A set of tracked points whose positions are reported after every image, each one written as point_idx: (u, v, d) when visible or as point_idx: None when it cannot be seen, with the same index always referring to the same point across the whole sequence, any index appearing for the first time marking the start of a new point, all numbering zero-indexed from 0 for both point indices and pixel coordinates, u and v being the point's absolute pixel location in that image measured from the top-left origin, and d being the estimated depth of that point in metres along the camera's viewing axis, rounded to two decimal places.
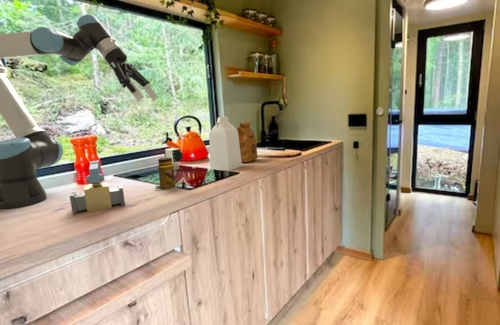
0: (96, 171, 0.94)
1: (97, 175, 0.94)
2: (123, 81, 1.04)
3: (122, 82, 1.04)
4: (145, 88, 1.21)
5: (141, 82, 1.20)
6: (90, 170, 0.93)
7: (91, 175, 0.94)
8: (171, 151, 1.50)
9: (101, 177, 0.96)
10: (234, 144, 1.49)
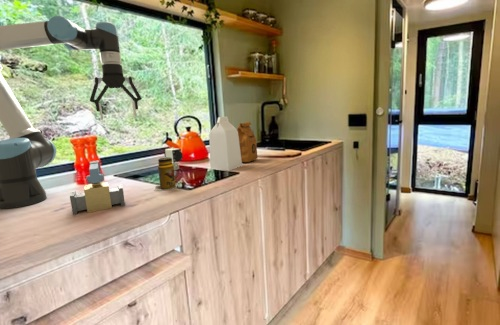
0: (96, 171, 0.94)
1: (97, 175, 0.94)
2: (90, 100, 1.17)
3: (90, 100, 1.17)
4: (132, 104, 1.25)
5: None
6: (90, 170, 0.93)
7: (91, 175, 0.94)
8: (171, 151, 1.50)
9: (101, 177, 0.96)
10: (234, 144, 1.49)
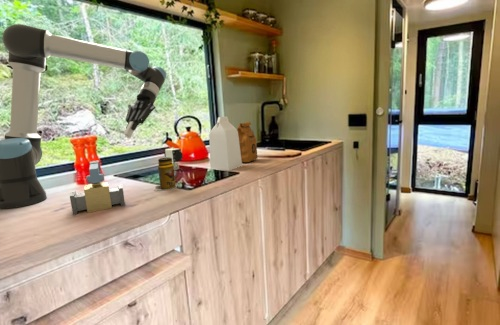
0: (96, 171, 0.94)
1: (97, 175, 0.94)
2: (127, 122, 1.25)
3: None
4: None
5: None
6: (90, 170, 0.93)
7: (91, 175, 0.94)
8: (171, 151, 1.50)
9: (101, 177, 0.96)
10: (234, 144, 1.49)
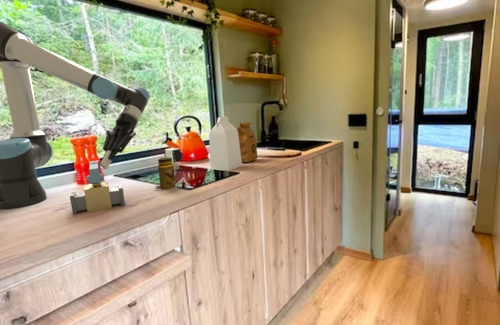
0: (96, 171, 0.94)
1: (97, 175, 0.94)
2: (104, 150, 1.13)
3: None
4: None
5: None
6: (90, 170, 0.93)
7: (91, 175, 0.94)
8: (171, 151, 1.50)
9: (101, 177, 0.96)
10: (234, 144, 1.49)
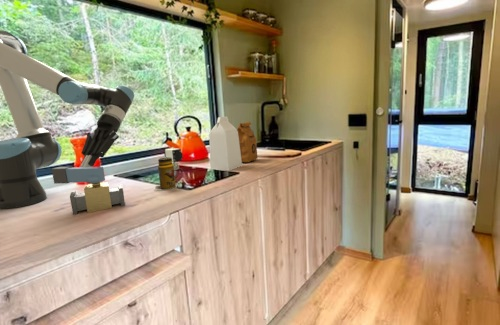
0: (102, 169, 0.96)
1: (103, 173, 0.97)
2: None
3: None
4: None
5: None
6: (98, 169, 0.95)
7: (99, 174, 0.95)
8: (171, 151, 1.50)
9: None
10: (234, 144, 1.49)
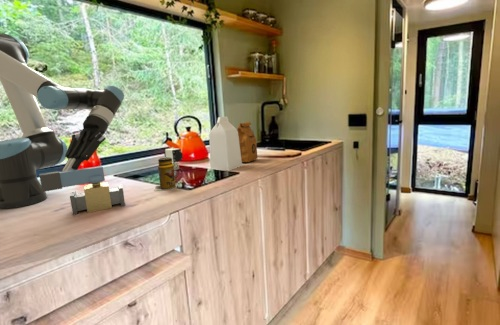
0: None
1: None
2: None
3: None
4: None
5: None
6: (102, 167, 0.97)
7: (103, 172, 0.97)
8: (171, 151, 1.50)
9: None
10: (234, 144, 1.49)
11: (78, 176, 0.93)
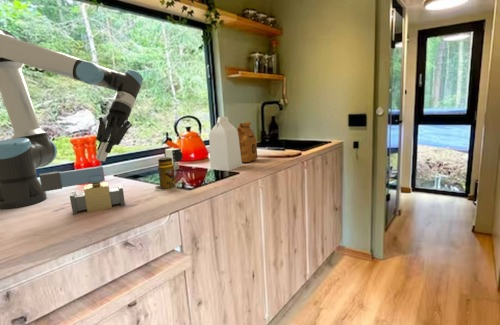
0: None
1: None
2: (98, 140, 1.12)
3: None
4: None
5: None
6: (102, 167, 0.97)
7: (103, 172, 0.97)
8: (171, 151, 1.50)
9: None
10: (234, 144, 1.49)
11: (78, 176, 0.93)
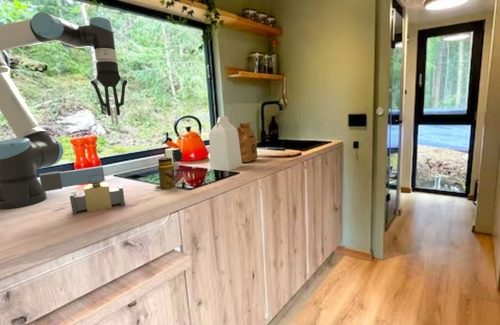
0: None
1: None
2: (102, 105, 1.14)
3: (101, 105, 1.14)
4: (114, 110, 1.16)
5: None
6: (102, 167, 0.97)
7: (103, 172, 0.97)
8: (171, 151, 1.50)
9: None
10: (234, 144, 1.49)
11: (78, 176, 0.93)
